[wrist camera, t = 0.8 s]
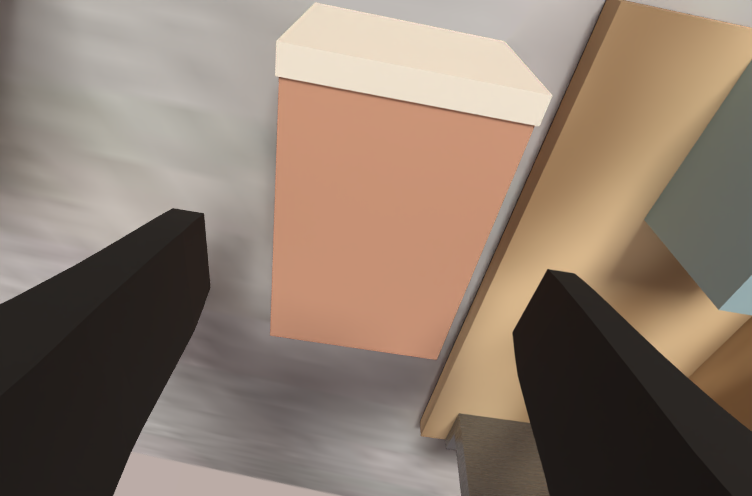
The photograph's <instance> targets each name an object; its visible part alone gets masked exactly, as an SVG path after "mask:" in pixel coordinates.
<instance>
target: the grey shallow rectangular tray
mask: <svg viewBox="0 0 752 496" xmlns="http://www.w3.org/2000/svg"><path fill="white" fill-rule="evenodd" d="M445 443H446V449H452V450H456V453H457V462H458V471H459V480H460V489H461V496H549V492H548V487H547V483H546V479H545V475H544V471H543V468H542V464H541V460H540V457H539V453H538V449H537V446H536V442H535V439H534V435H533V431H532V428H531V424H530V423H527V422H520V421H513V420H505V419H498V418H491V417H483V416H476V415H469V414H461V413H459V414H458V416H457V418H456V420H455V422H454V424H453V426H452V427H451V429H450V431H449V433H448V435H447V437H446V439H445Z"/></svg>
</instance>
